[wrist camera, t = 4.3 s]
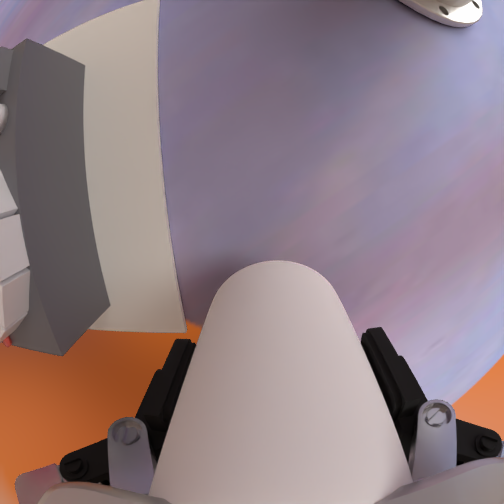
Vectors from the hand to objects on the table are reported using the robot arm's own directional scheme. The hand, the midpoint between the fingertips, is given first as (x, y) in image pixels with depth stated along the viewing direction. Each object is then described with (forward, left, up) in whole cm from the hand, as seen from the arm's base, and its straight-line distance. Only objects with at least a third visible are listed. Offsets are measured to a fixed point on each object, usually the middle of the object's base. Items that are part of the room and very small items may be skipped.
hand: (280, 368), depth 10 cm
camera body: (-8, -16, -6) cm, 18 cm away
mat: (-9, -14, -7) cm, 17 cm away
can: (0, 0, -4) cm, 4 cm away
